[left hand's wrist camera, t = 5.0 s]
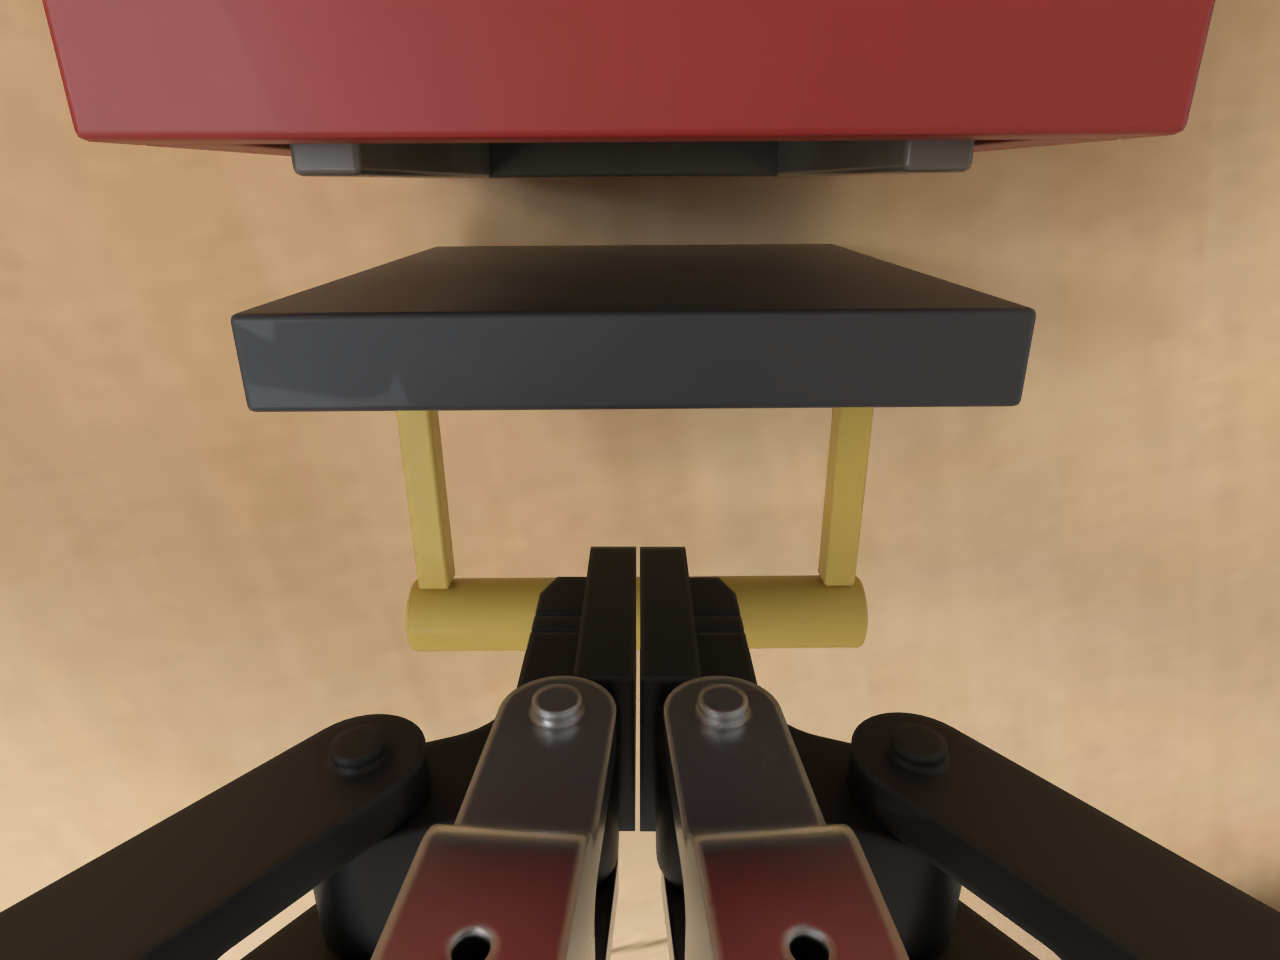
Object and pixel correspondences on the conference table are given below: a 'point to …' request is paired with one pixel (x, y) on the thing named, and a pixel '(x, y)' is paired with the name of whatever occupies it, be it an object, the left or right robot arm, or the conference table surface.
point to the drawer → (633, 352)
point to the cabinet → (625, 70)
